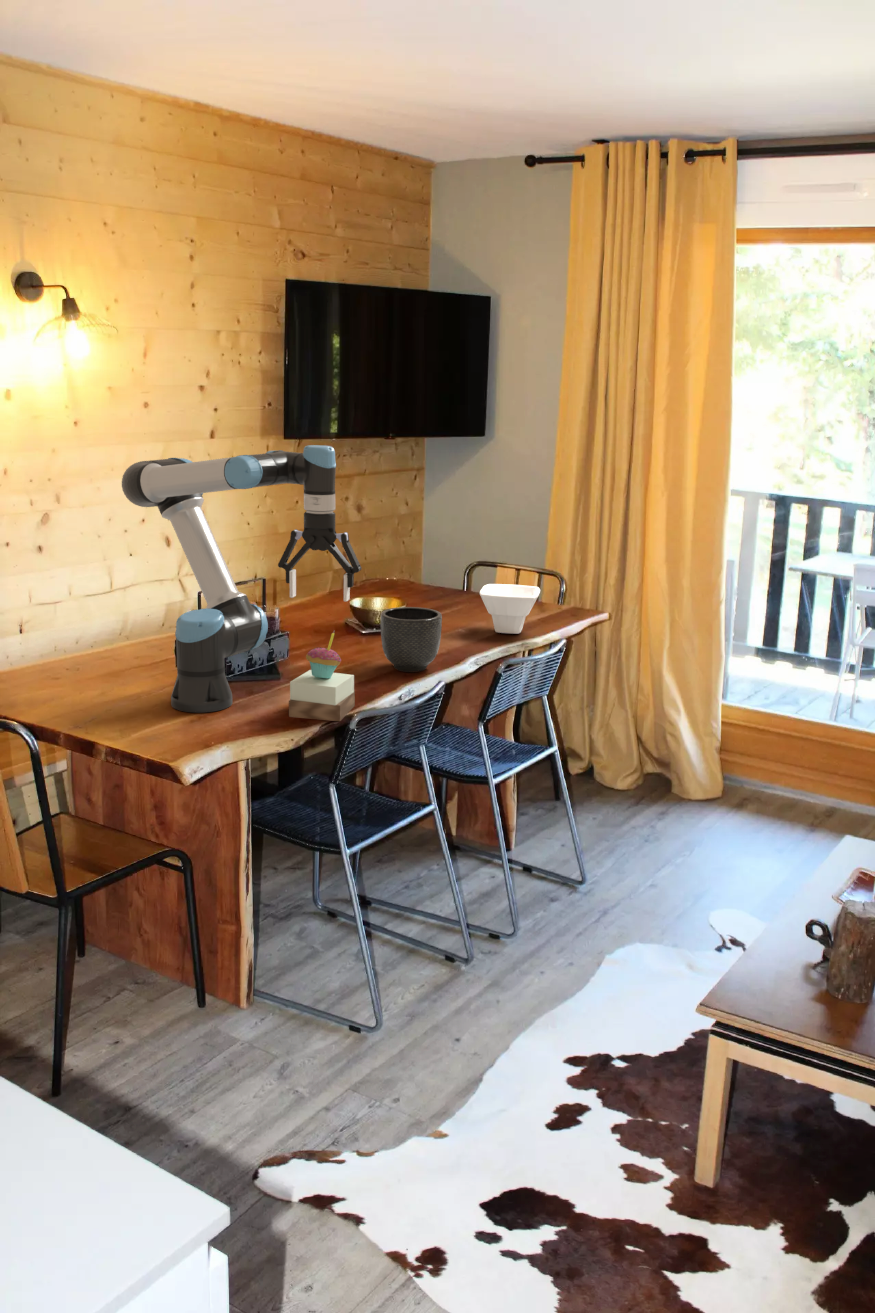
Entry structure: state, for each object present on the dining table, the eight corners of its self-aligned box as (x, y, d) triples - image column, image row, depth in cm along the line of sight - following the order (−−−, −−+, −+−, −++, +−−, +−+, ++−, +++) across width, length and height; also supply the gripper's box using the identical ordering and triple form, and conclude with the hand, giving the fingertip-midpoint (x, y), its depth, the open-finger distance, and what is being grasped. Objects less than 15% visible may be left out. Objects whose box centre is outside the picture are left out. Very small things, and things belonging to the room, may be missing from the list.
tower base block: (288, 718, 284) (288, 700, 283) (305, 703, 296) (305, 686, 295) (339, 723, 281) (340, 705, 280) (354, 707, 294) (354, 690, 293)
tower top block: (290, 699, 284) (290, 681, 283) (309, 686, 295) (309, 669, 294) (335, 705, 280) (335, 687, 279) (353, 692, 291) (354, 675, 290)
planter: (406, 680, 318) (407, 623, 314) (367, 666, 330) (368, 611, 326) (453, 670, 329) (454, 615, 325) (414, 657, 341) (415, 604, 337)
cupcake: (344, 679, 288) (352, 632, 286) (322, 680, 281) (330, 632, 279) (319, 671, 292) (326, 625, 291) (296, 672, 285) (303, 625, 284)
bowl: (475, 637, 366) (477, 594, 363) (483, 624, 385) (485, 582, 381) (534, 641, 363) (536, 598, 360) (539, 627, 382) (541, 586, 378)
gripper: (264, 510, 275) (265, 598, 281) (366, 516, 270) (365, 605, 276) (274, 506, 282) (275, 592, 288) (374, 512, 278) (373, 598, 283)
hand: (319, 598), depth 282 cm, fingers open, 13 cm apart
